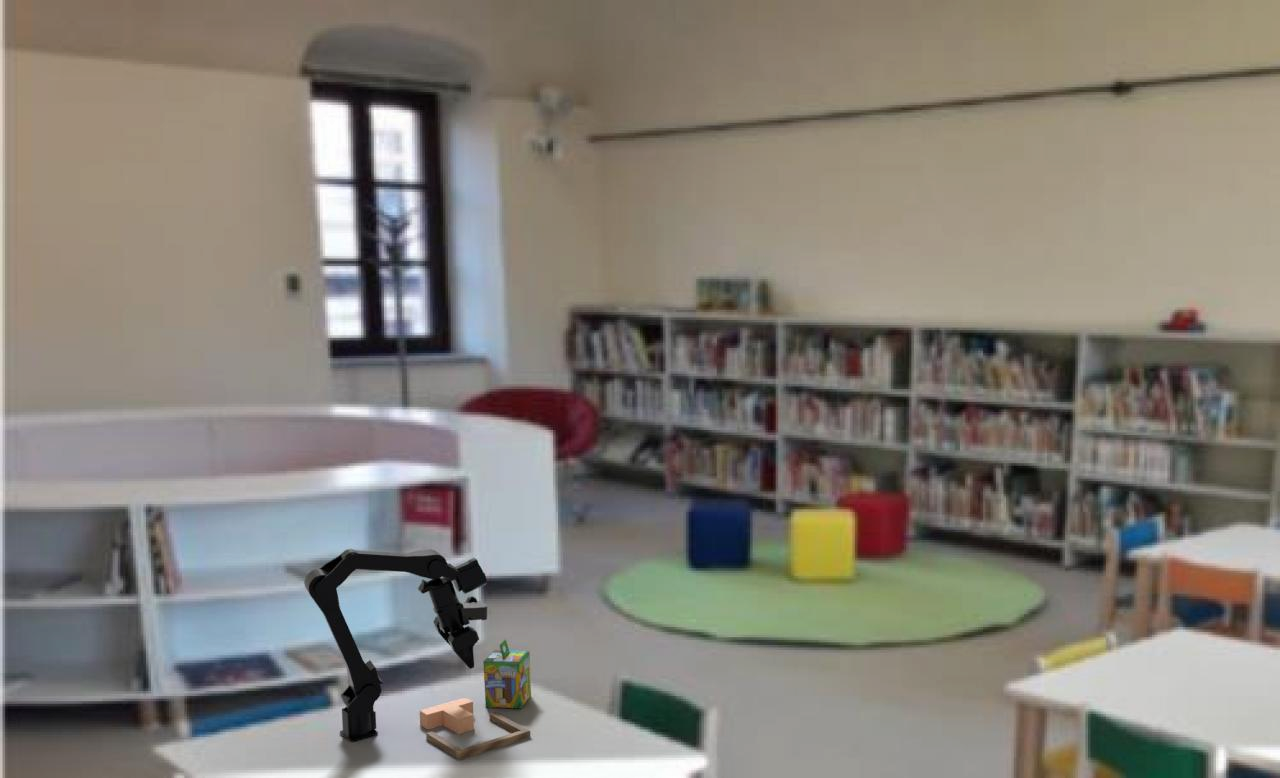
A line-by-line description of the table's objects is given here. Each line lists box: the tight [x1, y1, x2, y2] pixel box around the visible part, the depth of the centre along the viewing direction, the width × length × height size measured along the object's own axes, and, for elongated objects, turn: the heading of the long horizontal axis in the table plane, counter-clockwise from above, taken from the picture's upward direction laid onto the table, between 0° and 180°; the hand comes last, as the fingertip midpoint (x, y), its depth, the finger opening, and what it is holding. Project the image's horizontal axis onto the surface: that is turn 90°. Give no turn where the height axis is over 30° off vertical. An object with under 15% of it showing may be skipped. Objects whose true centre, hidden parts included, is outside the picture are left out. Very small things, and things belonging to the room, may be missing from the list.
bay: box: [425, 711, 531, 761], centre depth 249 cm, size 18×14×2 cm
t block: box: [419, 697, 475, 735], centre depth 257 cm, size 12×10×4 cm
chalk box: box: [482, 639, 532, 709], centre depth 270 cm, size 9×9×15 cm
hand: (466, 661), depth 263 cm, fingers open, 9 cm apart
